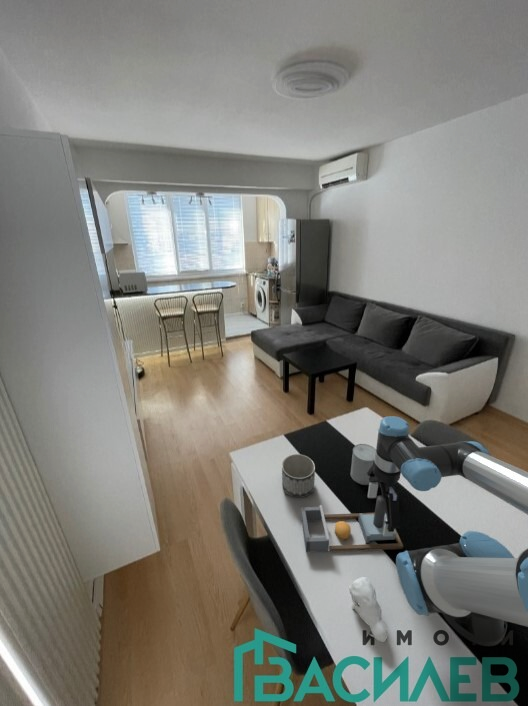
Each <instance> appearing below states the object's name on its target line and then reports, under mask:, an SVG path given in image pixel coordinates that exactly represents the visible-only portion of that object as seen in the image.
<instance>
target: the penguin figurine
mask: <svg viewBox="0 0 528 706" xmlns="http://www.w3.org/2000/svg"><path fill="white" fill-rule="evenodd" d="M348 588H349V594H350V595H351V608H352V610H355V611H356V612H357V613H358V615H359V617H360V618H361V619H362V620H363V622H365V624H367V625H368V626H369V628H370V631H371V632H368V634H369V635H370V636H371V637H372V638H374V639H375V640H377V641H378V642H380V643H381V642H382V643H383V642H386V640H387V638H388V635H389V633H388V628H387V626H386V624H385V622H384V621H383V620H382V619H383V618H382V607H381V605H380V603H379V602H378V600H377V593H376V588H375V587H374V585H373V584H372V582H371V581H370V579H369V578H368V577H367V576H361V577H359V578H356V579H354V580H353V581H352V583H351V584H350V585H349V586H348Z"/></svg>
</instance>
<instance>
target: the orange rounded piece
mask: <svg viewBox="0 0 528 706" xmlns="http://www.w3.org/2000/svg"><path fill="white" fill-rule="evenodd" d="M351 532H352V528H351V526H350V524H349V523H348V522H346V521H340V520H339V521H337V522H336V523H335V527H334V534H335V537H337V538H338V539H340V540H342V541H347V540H348V539H350V537H351Z"/></svg>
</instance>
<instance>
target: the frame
mask: <svg viewBox="0 0 528 706" xmlns="http://www.w3.org/2000/svg"><path fill="white" fill-rule="evenodd" d="M300 509H301V510H300V512H301V513H300V518H301V527H302V532H303V541H304V548H305V553H320V552H321V553H322V552H323V553H324V552H327V553H328V552H329V551H330V549H329V546H330V535H329V531H328V528H327V521H326V519H325V517H324V514H325V513H324V509H323V505H321V504H320V505H319V506H312V507H311V506H310V507H309V506H306V507H305V506H304V507H300ZM308 521H322V525H323V531H324V535H325V536H323V537H322V536H320V537H318V536H317V537H310V532H309V528H308Z"/></svg>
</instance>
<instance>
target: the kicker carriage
mask: <svg viewBox="0 0 528 706" xmlns="http://www.w3.org/2000/svg"><path fill="white" fill-rule="evenodd" d="M375 502H376V503H375V508H374V509H375V510H374V513H375V514H366V515H362V513H363V512H362V513H359V512H358V513H359V518H357V519H358V520H357V521H358V524H359V527H360V530H361V532H362V535H363V538H364V541H365V544H369V543H370V541H389V540H390V541H391V540H392V541H393V540H395V541H396V539H395V538H396V532H395V529H396V528H395V529H394V532H393V536H383V530H384V525H385V519H387V515H386V514H385V512H386V508H385V501H384V498H383V497H382V495H377V496H376V501H375Z"/></svg>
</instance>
